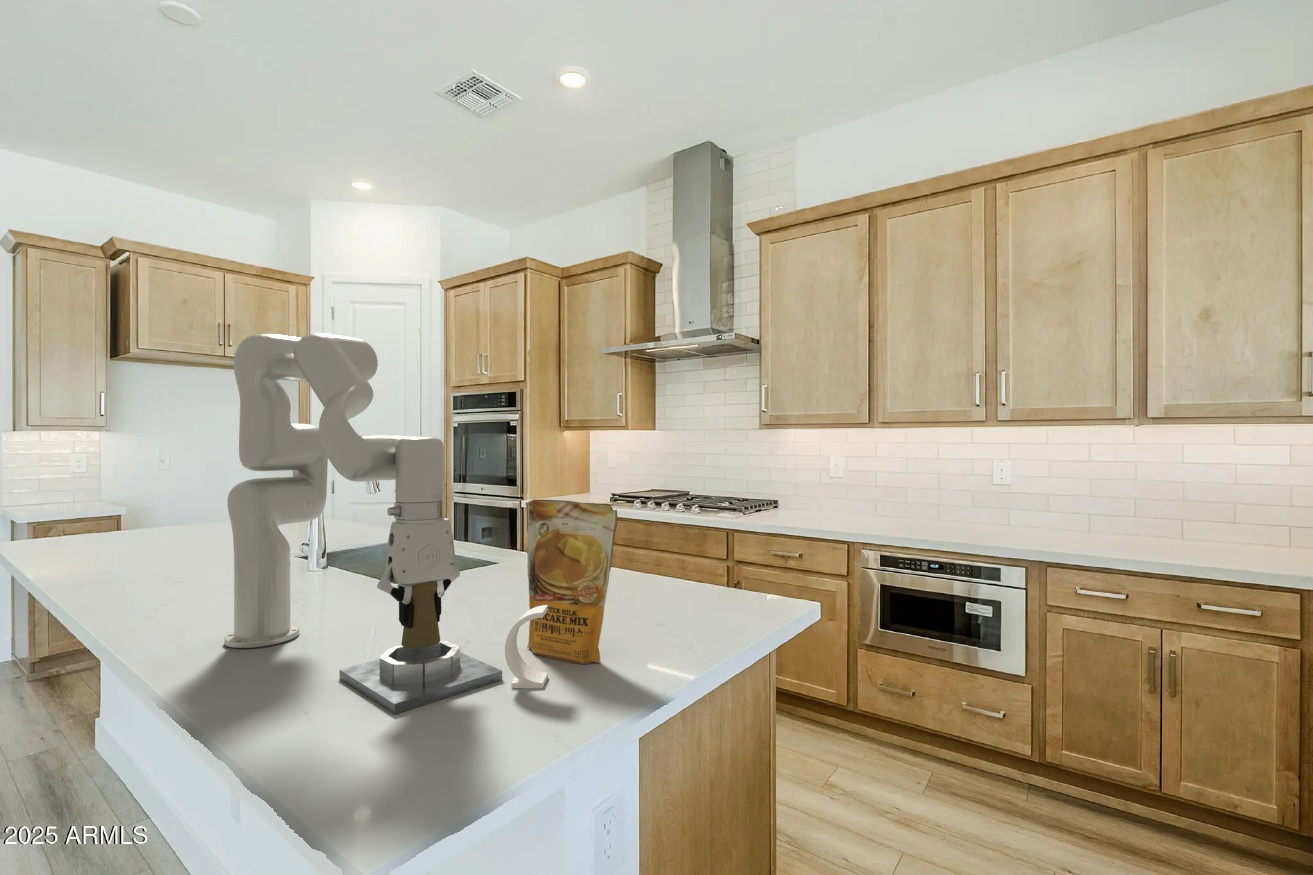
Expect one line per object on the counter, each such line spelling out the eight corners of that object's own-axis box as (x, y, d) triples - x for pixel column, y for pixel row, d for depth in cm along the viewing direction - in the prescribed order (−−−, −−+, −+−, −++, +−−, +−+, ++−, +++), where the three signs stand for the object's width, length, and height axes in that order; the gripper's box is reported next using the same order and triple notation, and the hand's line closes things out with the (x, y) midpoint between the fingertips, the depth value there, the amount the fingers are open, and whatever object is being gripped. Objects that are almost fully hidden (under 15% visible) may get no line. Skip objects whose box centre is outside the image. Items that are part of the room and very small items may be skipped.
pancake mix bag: (537, 641, 126) (537, 497, 125) (620, 657, 116) (620, 502, 116) (513, 651, 120) (513, 500, 120) (599, 669, 110) (599, 505, 110)
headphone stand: (542, 688, 102) (542, 612, 102) (504, 688, 102) (504, 612, 102) (548, 677, 107) (547, 604, 107) (511, 677, 107) (511, 604, 107)
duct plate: (339, 678, 106) (339, 651, 106) (440, 651, 119) (440, 627, 119) (394, 714, 92) (394, 683, 92) (502, 679, 106) (502, 652, 106)
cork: (418, 635, 110) (417, 570, 110) (448, 638, 108) (447, 572, 108) (393, 646, 104) (392, 577, 104) (424, 649, 102) (423, 580, 102)
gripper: (379, 518, 97) (379, 640, 97) (477, 509, 109) (477, 617, 109) (358, 514, 102) (359, 630, 102) (454, 506, 115) (454, 609, 115)
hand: (420, 622), depth 106 cm, fingers closed on cork, 3 cm apart
